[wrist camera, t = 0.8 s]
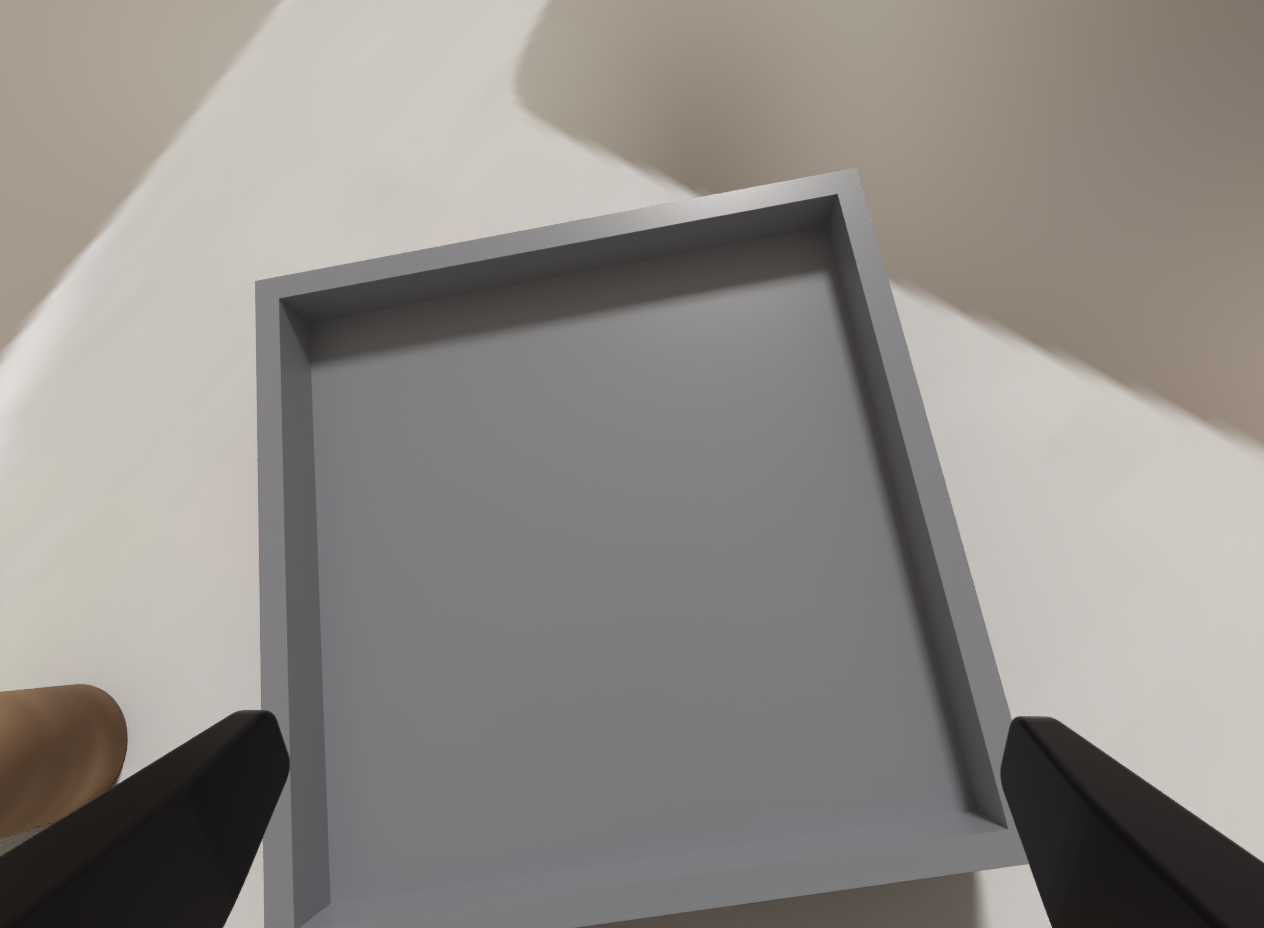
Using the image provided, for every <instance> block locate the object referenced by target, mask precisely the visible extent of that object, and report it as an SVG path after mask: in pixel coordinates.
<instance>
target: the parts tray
mask: <svg viewBox="0 0 1264 928" xmlns="http://www.w3.org/2000/svg"><path fill="white" fill-rule="evenodd" d="M255 301H256V371H257V441H258V511H259V581H260V650H261V710H267V711H270V712H272V713H273V714H274V715H275V716H276V718H277V721H278V724H279V727H280V730H281V733H282V736H283V739H284V742H285V745H286V748H287V751H288V754H289V757H290V771H289V775H288V778H287V781H286V784H285V786H284V788H283V791H282V793H281V796H280V798H279V800H278V803H277V805H276V808H275V810H274V812H273V815H272V817H271V820H270V822H269V824H268V827H267V829H266V832H265V834H264V836H263V860H264V928H577V927H584V926H591V925H598V924H605V923H612V922H620V921H627V920H634V919H641V918H648V917H655V916H662V915H669V914H676V913H683V912H691V911H698V910H705V909H712V908H719V907H726V906H733V905H740V904H747V903H754V902H762V901H769V900H776V899H783V898H790V897H797V896H804V895H811V894H818V893H825V892H833V891H840V890H847V889H854V888H861V887H868V886H875V885H882V884H889V883H896V882H903V881H911V880H918V879H925V878H932V877H939V876H946V875H953V874H960V873H967V872H974V871H982V870H989V869H996V868H1003V867H1010V866H1017V865H1024V864H1029V862H1028V860H1027V857H1026V854H1025V851H1024V848H1023V846H1022V843H1021V840H1020V837H1019V834H1018V831H1017V829H1016V826H1015V823H1014V820H1013V817H1012V814H1011V812H1010V809H1009V806H1008V803H1007V800H1006V798H1005V795H1004V792H1003V789H1002V784H1001V778H1000V768H1001V762H1002V758H1003V753H1004V749H1005V744H1006V740H1007V735H1008V730H1009V726H1010V724H1011V722H1012V719H1011V715H1010V712H1009V708H1008V705H1007V701H1006V698H1005V694H1004V690H1003V687H1002V683H1001V680H1000V676H999V673H998V669H997V665H996V662H995V658H994V655H993V651H992V648H991V644H990V640H989V637H988V633H987V630H986V626H985V623H984V619H983V615H982V612H981V608H980V605H979V601H978V598H977V594H976V591H975V587H974V583H973V580H972V576H971V573H970V569H969V566H968V562H967V558H966V555H965V551H964V548H963V544H962V541H961V537H960V533H959V530H958V526H957V523H956V519H955V516H954V512H953V509H952V505H951V501H950V498H949V494H948V491H947V487H946V484H945V480H944V476H943V473H942V469H941V466H940V462H939V459H938V455H937V451H936V448H935V444H934V441H933V437H932V434H931V430H930V426H929V423H928V419H927V416H926V412H925V409H924V405H923V402H922V398H921V394H920V391H919V387H918V384H917V380H916V377H915V373H914V369H913V366H912V362H911V359H910V355H909V352H908V348H907V344H906V341H905V337H904V334H903V330H902V327H901V323H900V319H899V316H898V312H897V309H896V305H895V302H894V298H893V295H892V291H891V287H890V284H889V280H888V277H887V273H886V270H885V266H884V263H883V259H882V255H881V252H880V248H879V245H878V241H877V238H876V234H875V230H874V227H873V223H872V220H871V216H870V213H869V209H868V206H867V202H866V198H865V195H864V191H863V188H862V184H861V180H860V177H859V173H858V170H857V168H852V169H848V170H842V171H837V172H831V173H826V174H821V175H815V176H810V177H805V178H800V179H795V180H789V181H784V182H778V183H773V184H768V185H762V186H757V187H753V188H746V189H741V190H736V191H730V192H726V193H720V194H715V195H709V196H704V197H699V198H693V199H688V200H683V201H677V202H672V203H667V204H662V205H656V206H651V207H646V208H640V209H635V210H630V211H624V212H619V213H614V214H609V215H603V216H598V217H593V218H587V219H582V220H577V221H571V222H566V223H561V224H556V225H550V226H545V227H540V228H534V229H529V230H524V231H519V232H513V233H508V234H503V235H497V236H492V237H487V238H481V239H476V240H471V241H466V242H460V243H455V244H450V245H444V246H439V247H434V248H428V249H423V250H418V251H413V252H407V253H402V254H397V255H391V256H386V257H381V258H375V259H370V260H365V261H360V262H354V263H349V264H344V265H338V266H333V267H328V268H322V269H317V270H312V271H307V272H301V273H296V274H291V275H285V276H280V277H275V278H269V279H264V280H259V281H255Z"/></svg>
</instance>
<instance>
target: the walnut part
mask: <svg viewBox="0 0 1264 928" xmlns="http://www.w3.org/2000/svg"><path fill="white" fill-rule="evenodd" d="M126 749H127V728H126V723H125V719H124V716H123V713H122V711H121V709H120V707H119V706H118V704H117V703H116V701H115V700H114V699H113V698H112V697H111V696H110V695H109V694H108V693H106V692H105V691H103V690H101V689H99V688H97V687H94V686H91V685H85V684H75V685H64V686H54V687H45V688H35V689H25V690H15V691H5V692H0V839H1V838H4V837H7V836H10V835H14V834H17V833H20V832H23V831H26V830H29V829H33V828H36V827H39V826H42V825H45V824H49V823H52V822H55V821H58V820H60V819H62V818H64V817H65V816H67V815H69V814H70V813H72V812H73V811H75V810H77V809H78V808H80V807H82V806H83V805H85V804H86V803H88V802H90V801H91V800H93V799H95V798H96V797H98V796H99V795H101V794H103V793H104V792H106V791H108V790H109V789H110V787H111V786H112V785H113V783H114V782H115V780H116V778H117V776H118V774H119V772H120V770H121V768H122V765H123V762H124V758H125V754H126Z"/></svg>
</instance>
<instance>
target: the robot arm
mask: <svg viewBox="0 0 1264 928" xmlns="http://www.w3.org/2000/svg"><path fill="white" fill-rule="evenodd" d="M289 771H290V757H289V754H288V751H287V748H286V745H285V742H284V739H283V736H282V733H281V730H280V727H279V724H278V721H277V718H276V716H275V715H274V714H273V713H272V712H270V711H267V710H242V711H237V712H235V713H233V714H231V715H229V716H228V717H226V718H224V719H223V720H221V721H220V722H218V723H216V724H215V725H213V726H211V727H210V728H208V729H207V730H205V731H203V732H202V733H200V734H198V735H197V736H195V737H194V738H192V739H190V740H189V741H187V742H185V743H184V744H182V745H181V746H179V747H177V748H176V749H174V750H172V751H171V752H169V753H168V754H166V755H164V756H163V757H161V758H159V759H158V760H156V761H155V762H153V763H151V764H150V765H148V766H147V767H145V768H143V769H142V770H140V771H138V772H137V773H135V774H134V775H132V776H130V777H129V778H127V779H125V780H124V781H122V782H121V783H119V784H117V785H116V786H114V787H112V788H111V789H109V790H108V791H106V792H104V793H103V794H101V795H99V796H98V797H96V798H95V799H93V800H91V801H90V802H88V803H86V804H85V805H83V806H82V807H80V808H78V809H77V810H75V811H73V812H72V813H70V814H69V815H67V816H65V817H64V818H62V819H60V820H59V821H57V822H56V823H54V824H52V825H51V826H49V827H48V828H46V829H44V830H43V831H41V832H39V833H38V834H36V835H35V836H33V837H31V838H30V839H28V840H26V841H25V842H23V843H22V844H20V845H18V846H17V847H15V848H13V849H12V850H10V851H9V852H7V853H5V854H4V855H2V856H0V928H223V927H224V925H225V923H226V921H227V919H228V917H229V915H230V912H231V910H232V908H233V906H234V904H235V902H236V900H237V898H238V896H239V893H240V891H241V889H242V887H243V884H244V882H245V880H246V877H247V875H248V872H249V870H250V868H251V865H252V863H253V860H254V858H255V856H256V853H257V851H258V848H259V846H260V844H261V841H262V839H263V836H264V834H265V832H266V829H267V827H268V824H269V822H270V820H271V817H272V815H273V812H274V810H275V808H276V805H277V803H278V800H279V798H280V796H281V793H282V791H283V788H284V786H285V784H286V781H287V778H288V775H289ZM1000 778H1001V784H1002V789H1003V792H1004V795H1005V798H1006V800H1007V803H1008V806H1009V809H1010V812H1011V814H1012V817H1013V820H1014V823H1015V826H1016V829H1017V831H1018V834H1019V837H1020V840H1021V843H1022V846H1023V848H1024V851H1025V854H1026V857H1027V860H1028V862H1029V865H1030V868H1031V871H1032V874H1033V877H1034V879H1035V882H1036V885H1037V888H1038V891H1039V893H1040V896H1041V899H1042V902H1043V905H1044V908H1045V910H1046V913H1047V915H1048V918H1049V921H1050V923H1051V926H1052V928H1264V862H1262V861H1261V860H1259V859H1258V858H1256V857H1255V856H1253V855H1252V854H1251V853H1249V852H1248V851H1246V850H1245V849H1243V848H1242V847H1240V846H1239V845H1238V844H1236V843H1235V842H1233V841H1232V840H1230V839H1229V838H1227V837H1226V836H1225V835H1223V834H1222V833H1220V832H1219V831H1217V830H1216V829H1214V828H1213V827H1212V826H1210V825H1209V824H1207V823H1206V822H1204V821H1203V820H1201V819H1200V818H1199V817H1197V816H1196V815H1194V814H1193V813H1191V812H1190V811H1188V810H1187V809H1186V808H1184V807H1183V806H1181V805H1180V804H1178V803H1177V802H1175V801H1174V800H1173V799H1171V798H1170V797H1168V796H1167V795H1165V794H1164V793H1162V792H1161V791H1159V790H1158V789H1157V788H1155V787H1154V786H1152V785H1151V784H1149V783H1148V782H1146V781H1145V780H1144V779H1142V778H1141V777H1139V776H1138V775H1136V774H1135V773H1133V772H1132V771H1131V770H1129V769H1128V768H1126V767H1125V766H1123V765H1122V764H1120V763H1119V762H1118V761H1116V760H1115V759H1113V758H1112V757H1110V756H1109V755H1107V754H1106V753H1105V752H1103V751H1102V750H1100V749H1099V748H1097V747H1096V746H1094V745H1093V744H1092V743H1090V742H1089V741H1087V740H1086V739H1084V738H1083V737H1081V736H1080V735H1079V734H1077V733H1076V732H1074V731H1073V730H1071V729H1070V728H1068V727H1067V726H1066V725H1064V724H1063V723H1061V722H1060V721H1058V720H1056V719H1054V718H1051V717H1040V716H1019V717H1016V718H1014V719H1013V720H1012V722H1011V724H1010V726H1009V730H1008V735H1007V740H1006V744H1005V749H1004V753H1003V758H1002V762H1001V768H1000Z"/></svg>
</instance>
